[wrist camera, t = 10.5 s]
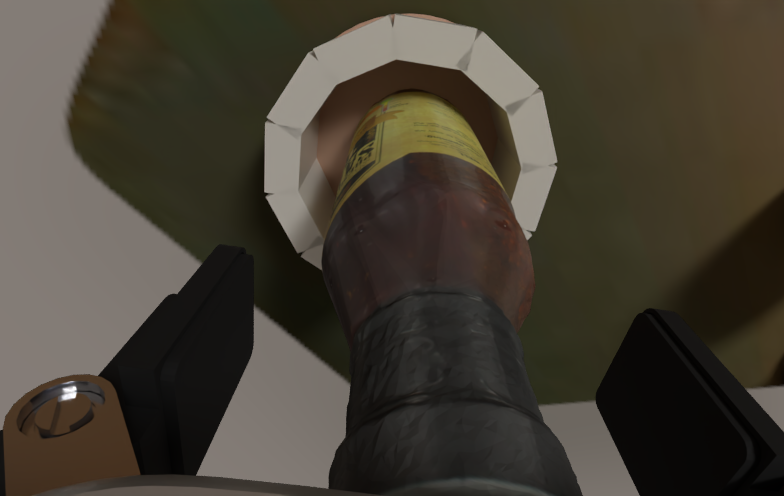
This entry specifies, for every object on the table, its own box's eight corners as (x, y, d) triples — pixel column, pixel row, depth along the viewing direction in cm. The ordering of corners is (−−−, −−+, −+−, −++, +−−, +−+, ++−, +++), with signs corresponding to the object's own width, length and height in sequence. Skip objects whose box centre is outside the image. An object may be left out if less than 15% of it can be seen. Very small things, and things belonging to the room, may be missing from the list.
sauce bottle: (354, 81, 22) (192, 362, 4) (478, 88, 22) (792, 387, 5) (353, 202, 25) (256, 644, 8) (461, 207, 25) (611, 655, 8)
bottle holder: (554, 37, 22) (603, 45, 16) (488, 258, 28) (509, 314, 23) (295, -8, 21) (262, -14, 16) (286, 230, 27) (260, 281, 22)
